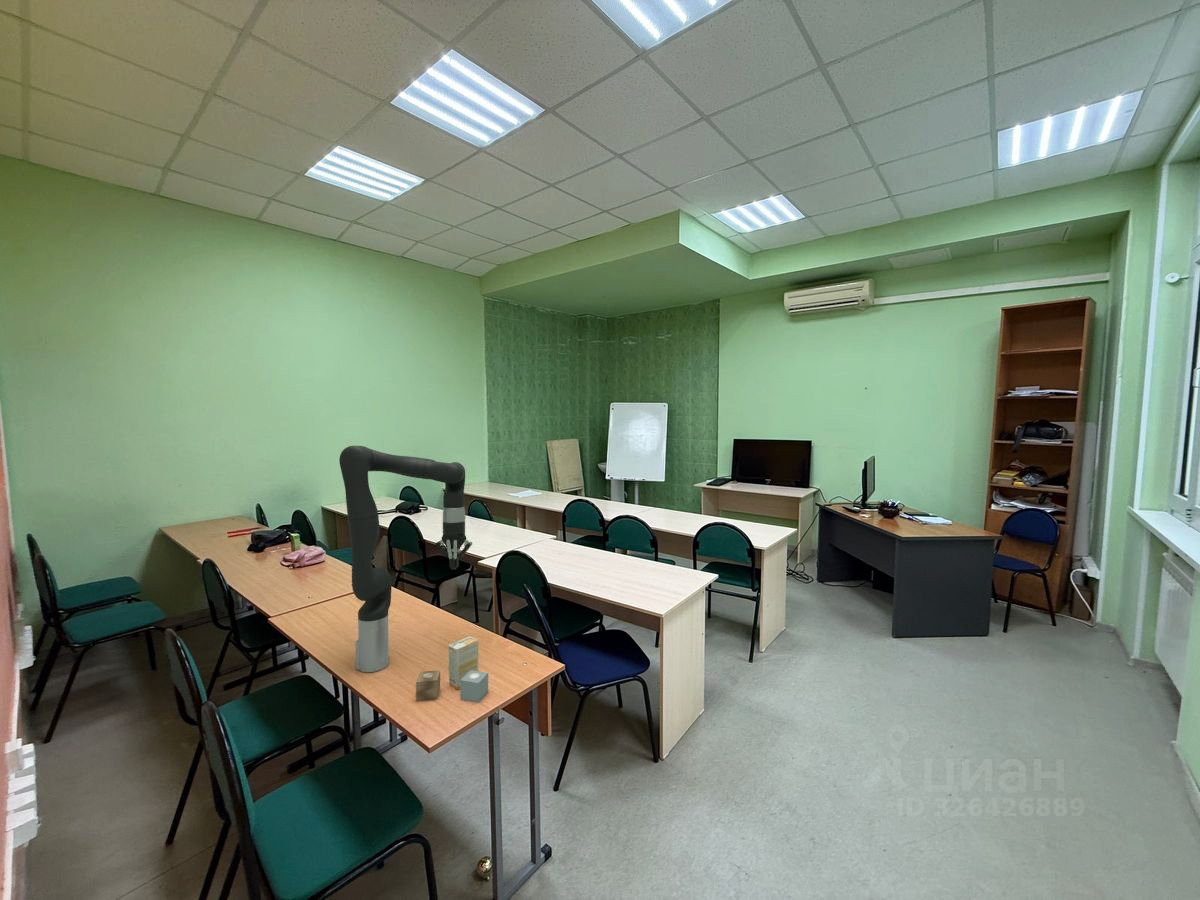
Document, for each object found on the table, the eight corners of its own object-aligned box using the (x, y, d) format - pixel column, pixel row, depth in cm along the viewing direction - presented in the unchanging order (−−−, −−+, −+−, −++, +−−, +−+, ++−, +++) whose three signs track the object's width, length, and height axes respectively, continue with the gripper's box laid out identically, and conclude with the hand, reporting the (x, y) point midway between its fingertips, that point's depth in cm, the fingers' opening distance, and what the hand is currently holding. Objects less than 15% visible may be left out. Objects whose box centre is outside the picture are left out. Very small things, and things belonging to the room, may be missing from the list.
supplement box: (470, 674, 154) (470, 635, 154) (479, 679, 151) (478, 639, 151) (448, 684, 148) (447, 644, 147) (456, 690, 145) (456, 648, 144)
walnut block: (416, 701, 139) (415, 681, 138) (420, 690, 145) (419, 671, 144) (437, 699, 140) (437, 679, 140) (440, 688, 146) (440, 669, 145)
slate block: (460, 699, 140) (460, 679, 140) (470, 688, 146) (470, 669, 145) (478, 702, 138) (478, 682, 138) (488, 691, 144) (488, 672, 144)
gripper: (430, 521, 160) (431, 571, 161) (468, 522, 159) (468, 572, 160) (440, 517, 167) (440, 565, 168) (476, 518, 166) (476, 566, 167)
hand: (454, 568), depth 164 cm, fingers closed
